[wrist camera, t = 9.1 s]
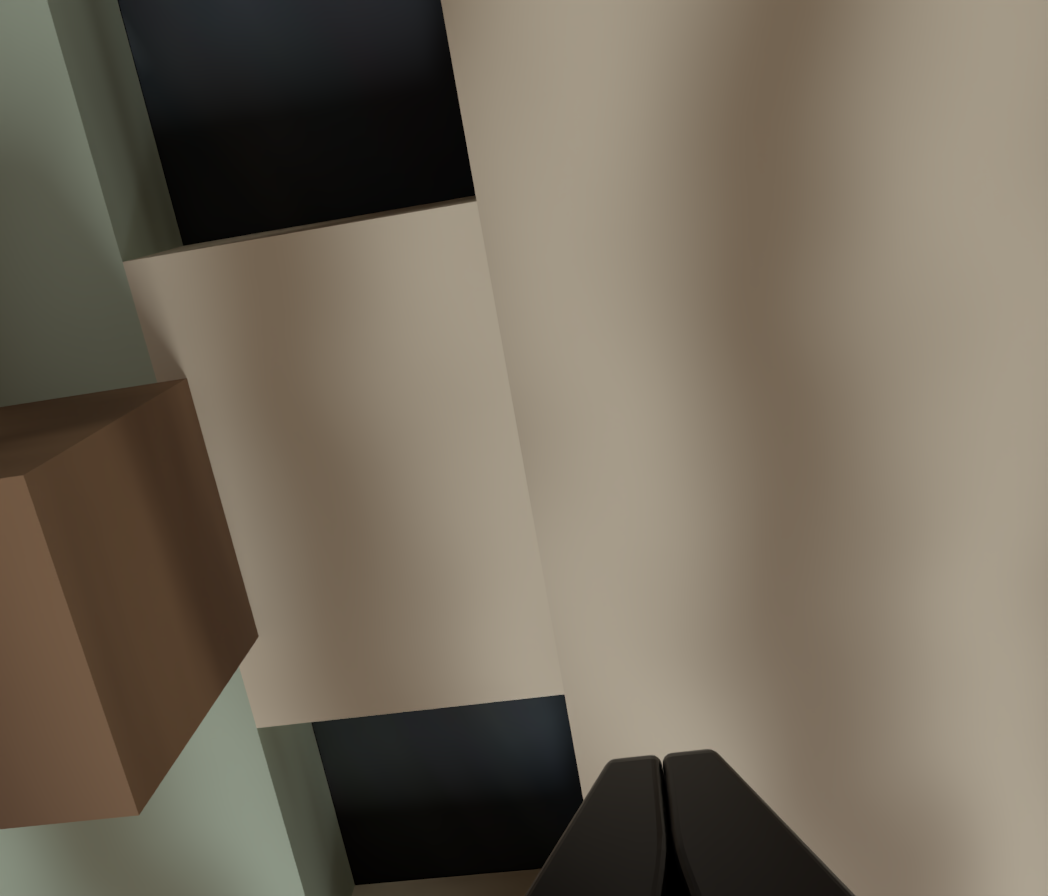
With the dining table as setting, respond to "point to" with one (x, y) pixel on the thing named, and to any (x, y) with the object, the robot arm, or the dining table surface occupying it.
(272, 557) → the trap board
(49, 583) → the block
